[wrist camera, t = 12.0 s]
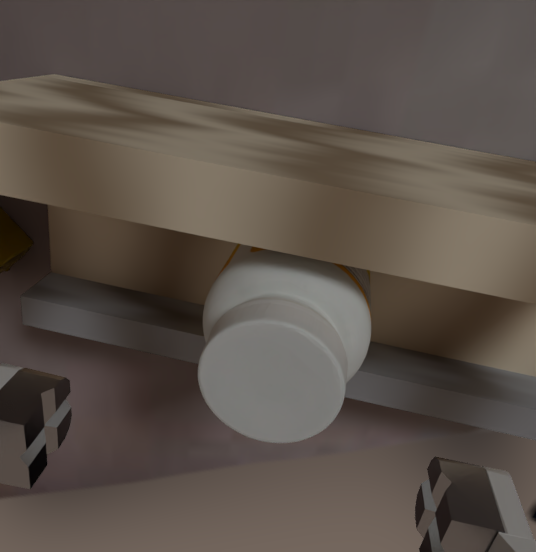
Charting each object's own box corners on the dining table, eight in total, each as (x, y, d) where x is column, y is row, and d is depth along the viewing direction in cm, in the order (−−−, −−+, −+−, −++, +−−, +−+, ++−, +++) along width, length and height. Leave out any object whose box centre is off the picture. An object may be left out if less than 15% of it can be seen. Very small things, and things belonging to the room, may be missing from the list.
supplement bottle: (327, 162, 20) (302, 257, 12) (393, 269, 22) (413, 422, 13) (221, 228, 22) (133, 350, 14) (288, 321, 24) (246, 485, 15)
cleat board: (63, 298, 26) (-67, 413, 18) (54, 74, 21) (-129, 97, 13) (532, 401, 24) (616, 580, 16) (641, 180, 19) (837, 283, 11)
